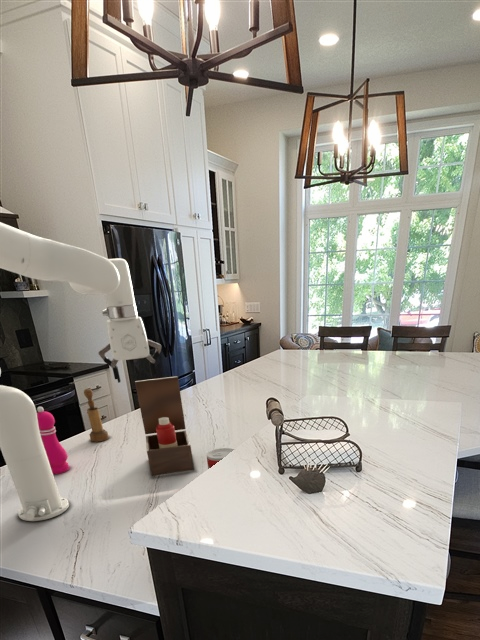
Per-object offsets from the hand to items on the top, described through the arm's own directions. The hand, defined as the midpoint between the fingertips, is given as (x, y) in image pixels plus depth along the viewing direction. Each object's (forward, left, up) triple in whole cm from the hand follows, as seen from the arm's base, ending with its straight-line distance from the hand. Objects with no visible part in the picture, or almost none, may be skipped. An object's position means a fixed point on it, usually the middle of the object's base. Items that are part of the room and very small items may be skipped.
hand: (136, 379), depth 136 cm
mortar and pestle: (+34, +18, -26) cm, 47 cm away
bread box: (-4, -6, -26) cm, 27 cm away
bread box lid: (+2, -6, -9) cm, 11 cm away
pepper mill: (+6, +29, -26) cm, 40 cm away
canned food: (-30, -19, -26) cm, 44 cm away
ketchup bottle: (-4, -6, -25) cm, 26 cm away
